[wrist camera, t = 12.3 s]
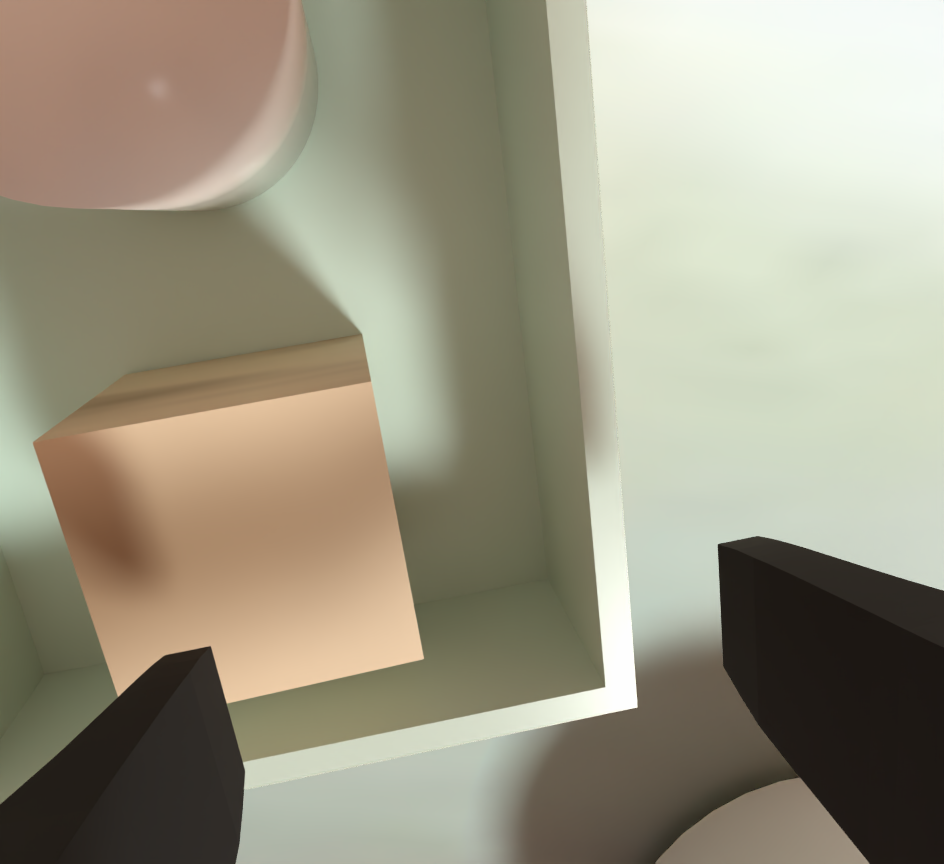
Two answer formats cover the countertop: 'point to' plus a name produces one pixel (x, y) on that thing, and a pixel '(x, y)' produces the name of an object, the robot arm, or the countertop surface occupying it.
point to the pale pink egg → (152, 101)
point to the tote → (392, 376)
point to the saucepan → (766, 832)
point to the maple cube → (237, 519)
